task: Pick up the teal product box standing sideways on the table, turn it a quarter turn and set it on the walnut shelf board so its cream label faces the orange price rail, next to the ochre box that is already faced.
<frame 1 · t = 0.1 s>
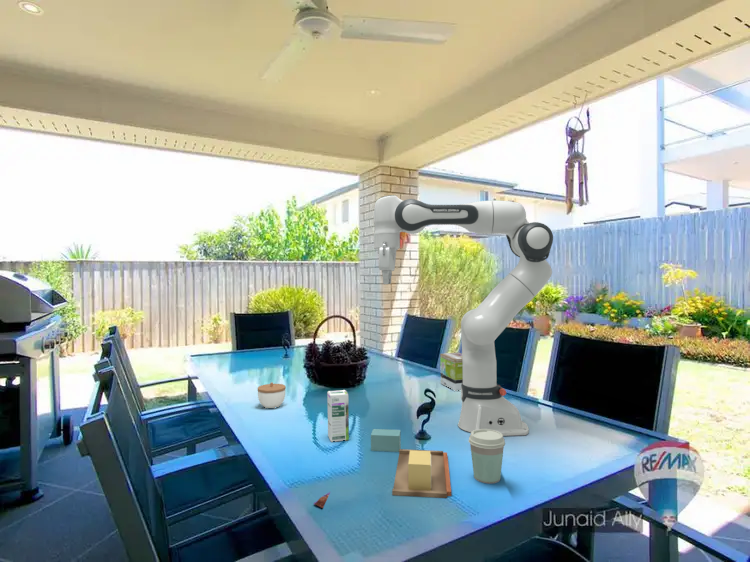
hand: (387, 284, 149), 48 cm above the table, tool pointing down, fingers open, 8 cm apart
teal box: (386, 453, 124), on the table
tea box: (457, 387, 199), on the table
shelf: (420, 478, 108), on the table
ochre box: (419, 482, 102), point 1 cm above the table, touching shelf
coffee cup: (487, 484, 105), on the table
snack package: (339, 501, 98), on the table
syrup box: (338, 438, 136), on the table
lidded jar: (271, 407, 171), on the table
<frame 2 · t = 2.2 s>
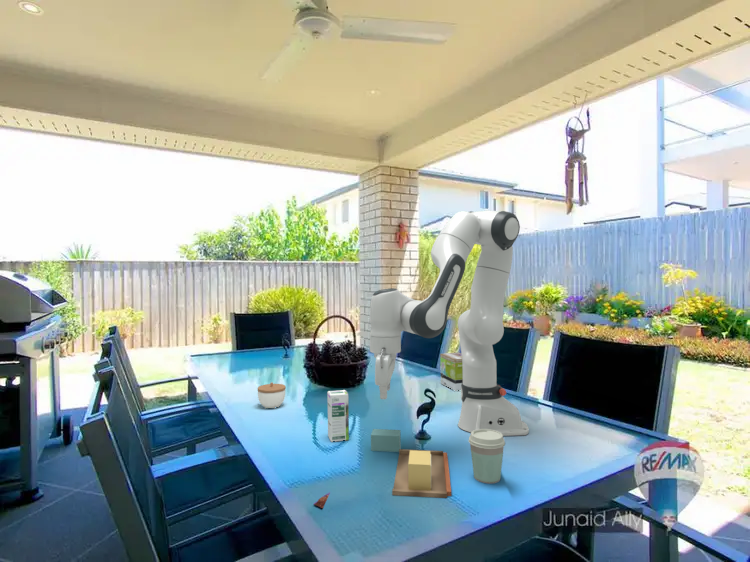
hand: (385, 394, 124), 17 cm above the table, tool pointing down, fingers open, 8 cm apart
nothing on the table moved.
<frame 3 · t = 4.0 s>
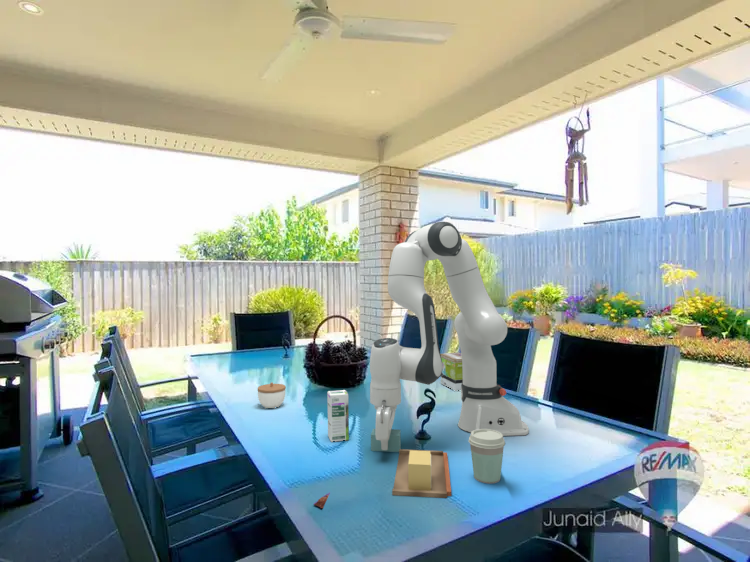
hand: (385, 444, 124), 2 cm above the table, tool pointing down, fingers closed on teal box, 5 cm apart
teal box: (386, 453, 124), on the table, touching gripper
everything else where it was.
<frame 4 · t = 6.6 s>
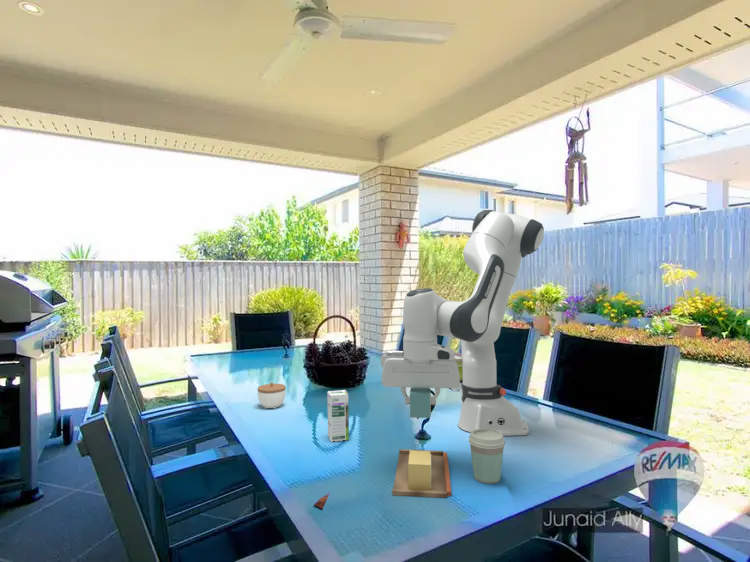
hand: (420, 404, 113), 17 cm above the table, tool pointing down, fingers closed on teal box, 5 cm apart
teal box: (420, 412, 113), point 15 cm above the table, touching gripper
everything else where it was.
when the fingers open (5 cm above the table, at t = 9.2 s): teal box stays where it is, resting on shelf.
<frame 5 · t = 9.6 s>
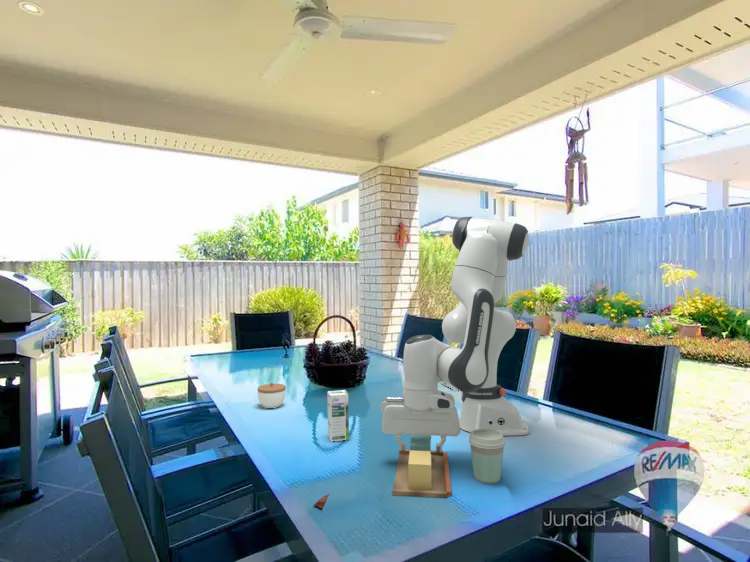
hand: (420, 450, 113), 5 cm above the table, tool pointing down, fingers open, 8 cm apart
teal box: (420, 463, 113), point 1 cm above the table, touching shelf
everything else where it was.
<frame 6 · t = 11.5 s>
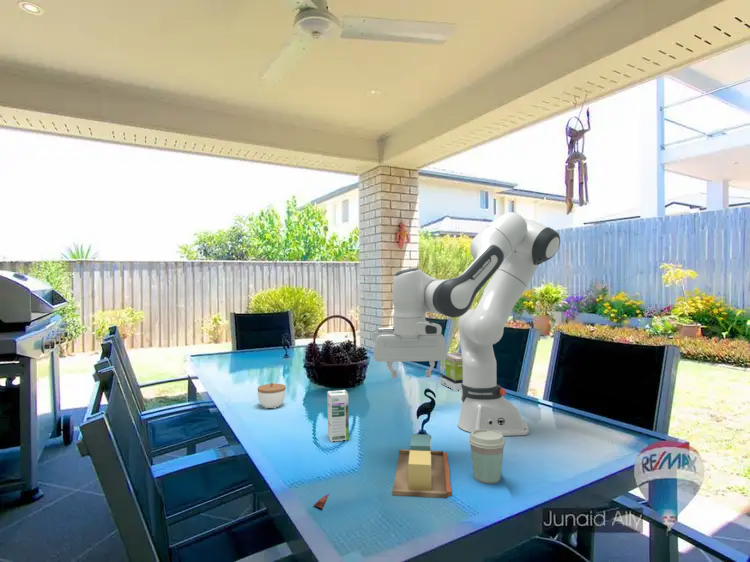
hand: (411, 377, 120), 22 cm above the table, tool pointing down, fingers open, 8 cm apart
nothing on the table moved.
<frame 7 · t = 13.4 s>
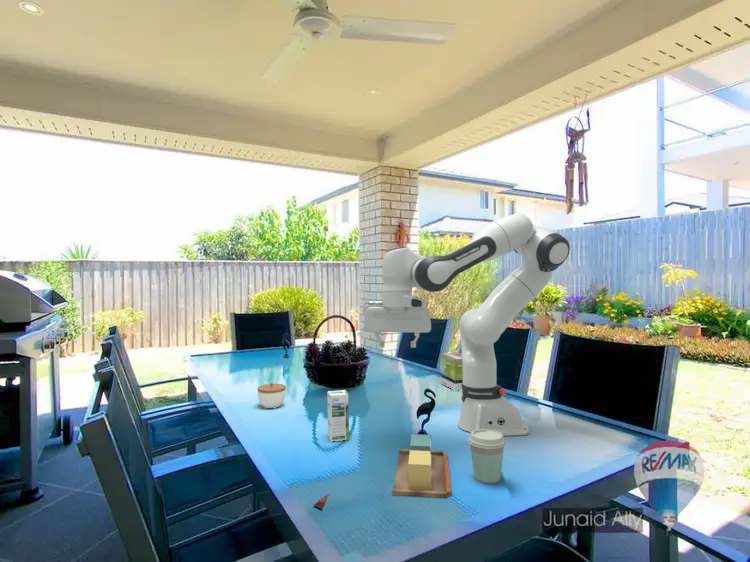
hand: (397, 347, 130), 29 cm above the table, tool pointing down, fingers open, 8 cm apart
nothing on the table moved.
at the end: teal box inside the target area on the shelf (0.1 cm from its centre), point 1.5 cm above the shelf's base; teal box tilted 0°; the gripper is holding nothing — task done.
